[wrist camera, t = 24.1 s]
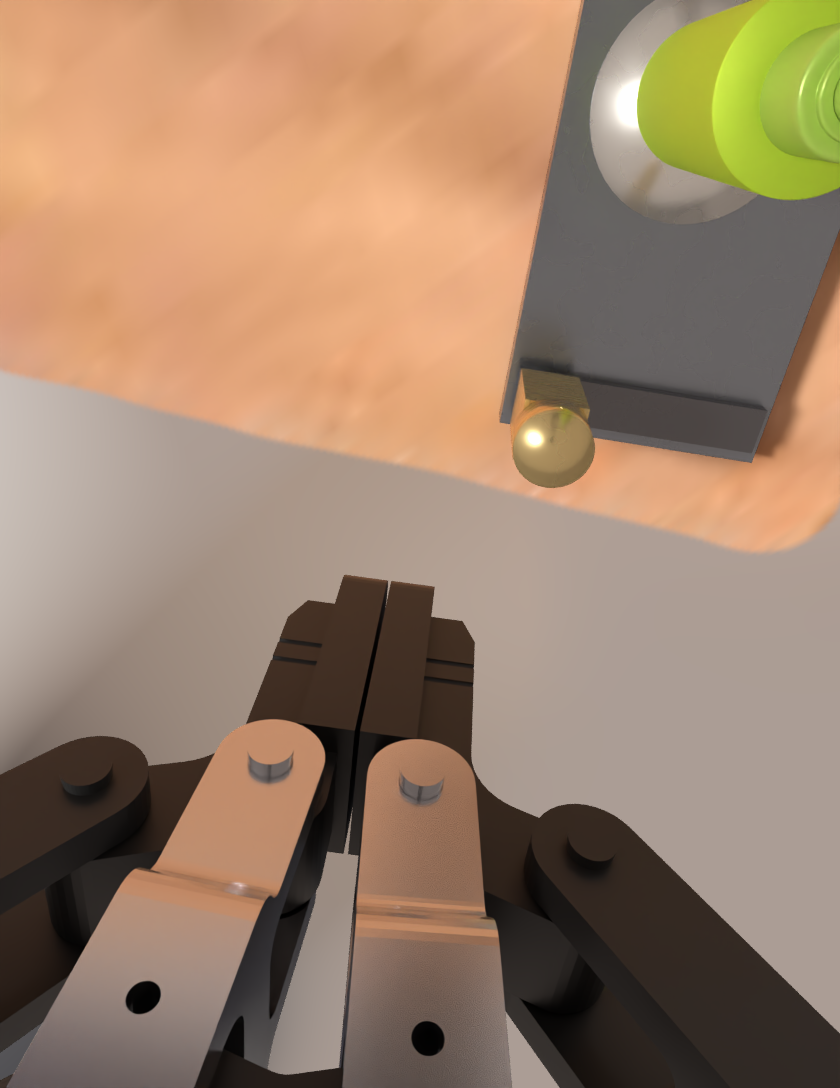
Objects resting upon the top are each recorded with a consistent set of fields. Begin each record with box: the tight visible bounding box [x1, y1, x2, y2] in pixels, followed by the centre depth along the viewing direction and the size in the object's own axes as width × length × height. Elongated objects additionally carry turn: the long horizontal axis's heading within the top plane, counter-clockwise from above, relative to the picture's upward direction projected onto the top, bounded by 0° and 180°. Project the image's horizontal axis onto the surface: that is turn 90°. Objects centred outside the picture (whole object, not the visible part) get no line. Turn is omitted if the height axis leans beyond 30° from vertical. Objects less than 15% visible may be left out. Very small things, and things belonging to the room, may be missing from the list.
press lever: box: [510, 368, 595, 488], centre depth 38 cm, size 4×4×7 cm
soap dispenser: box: [636, 0, 840, 200], centre depth 26 cm, size 6×7×20 cm
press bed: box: [499, 0, 840, 463], centre depth 38 cm, size 21×14×2 cm
